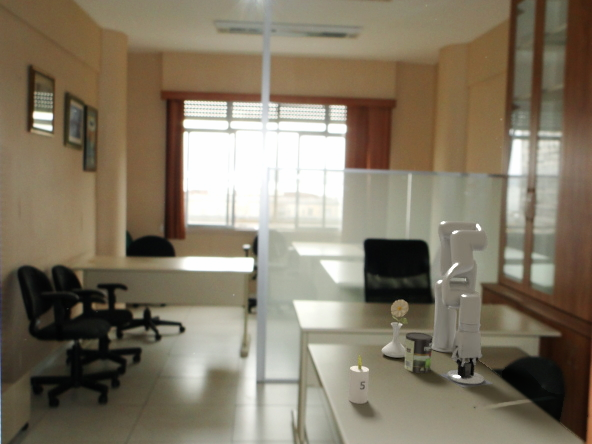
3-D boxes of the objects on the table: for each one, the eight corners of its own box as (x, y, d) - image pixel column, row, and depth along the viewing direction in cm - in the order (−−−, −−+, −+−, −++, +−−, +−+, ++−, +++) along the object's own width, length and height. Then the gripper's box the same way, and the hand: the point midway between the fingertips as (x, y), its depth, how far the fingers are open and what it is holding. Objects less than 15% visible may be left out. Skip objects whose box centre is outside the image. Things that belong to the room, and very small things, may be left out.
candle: (352, 404, 171) (355, 359, 171) (345, 396, 178) (347, 353, 177) (370, 403, 173) (373, 358, 172) (363, 395, 179) (365, 352, 179)
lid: (467, 371, 206) (468, 355, 206) (491, 383, 194) (492, 366, 194) (440, 374, 201) (441, 358, 201) (463, 386, 189) (464, 369, 189)
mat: (467, 373, 207) (467, 371, 207) (493, 386, 194) (493, 383, 194) (438, 376, 201) (438, 374, 201) (462, 390, 188) (462, 387, 188)
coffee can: (434, 370, 208) (436, 335, 207) (423, 377, 200) (426, 341, 199) (410, 364, 214) (412, 330, 213) (399, 370, 206) (401, 335, 205)
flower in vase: (376, 353, 228) (379, 296, 226) (397, 350, 233) (401, 294, 231) (393, 362, 216) (397, 302, 215) (416, 359, 221) (419, 301, 219)
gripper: (479, 323, 203) (476, 370, 204) (444, 325, 197) (441, 374, 198) (493, 328, 196) (490, 376, 197) (457, 331, 190) (454, 381, 191)
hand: (465, 374), depth 197 cm, fingers closed on lid, 3 cm apart
